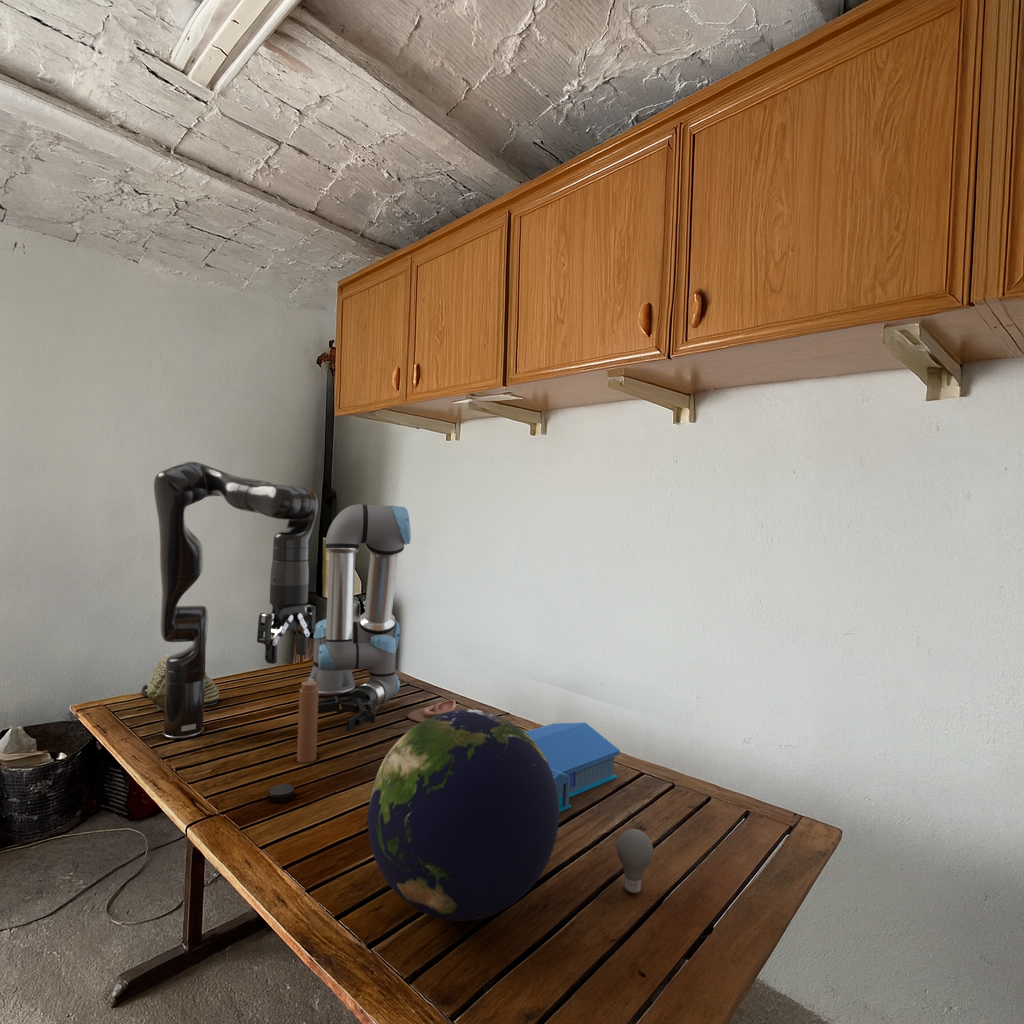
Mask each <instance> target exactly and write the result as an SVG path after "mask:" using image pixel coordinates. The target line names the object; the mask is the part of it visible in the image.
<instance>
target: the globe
mask: <svg viewBox="0 0 1024 1024" xmlns="http://www.w3.org/2000/svg"><path fill="white" fill-rule="evenodd" d="M525 732H526V731H524V730H523V729H521V727H519V726H517V725H516V724H514V723H513V722H511V721H510V720H508V719H506V718H504V717H501V716H499V715H497V714H495V713H492V712H487V711H483V710H479V709H457V710H453V711H450V712H445V713H442V714H439V715H436V716H433V717H431V718H429V719H427V720H425V721H423V722H418V724H417V725H414V726H413V727H412V728H411V729H409V730H408V731H407V732H405V734H403V735H402V736H401V737H400V738H399V739H398V740H397V741H396V742H395V743H394V745H392V747H391V748H390V750H389V751H388V753H387V754H386V755H385V757H384V758H383V760H382V762H381V764H380V766H379V768H378V770H377V772H376V775H375V778H374V780H373V783H372V787H371V791H370V793H369V800H368V801H369V802H368V809H367V829H368V831H367V832H368V838H369V843H370V847H371V852H372V855H373V857H374V860H375V863H376V865H377V867H378V869H379V871H380V873H381V874H382V876H383V878H384V880H385V881H386V883H387V885H389V886H390V888H391V889H392V890H393V891H394V892H395V894H397V896H399V897H400V898H401V900H403V902H405V903H406V904H408V905H409V906H410V907H412V908H414V909H415V910H417V911H419V912H421V913H423V914H425V915H428V916H430V917H432V918H436V919H440V920H443V921H448V922H449V921H450V922H471V921H477V920H482V919H486V918H488V917H491V916H494V915H496V914H499V913H501V912H502V911H505V910H506V909H508V908H510V907H511V906H512V905H514V904H515V903H517V902H518V901H519V900H520V899H521V898H522V897H524V896H525V895H526V894H527V893H528V892H529V891H530V890H531V889H532V888H533V886H534V885H535V884H536V883H537V881H538V880H539V879H540V877H541V876H542V874H543V872H544V870H545V869H546V867H547V865H548V863H549V860H550V858H551V856H552V853H553V851H554V847H555V845H556V840H557V835H558V832H559V823H560V812H559V801H558V793H557V788H556V784H555V780H554V777H553V774H552V771H551V769H550V766H549V764H548V761H547V760H546V758H545V756H544V754H543V753H542V751H541V750H540V748H539V747H538V746H537V744H536V743H535V742H534V741H533V740H532V739H531V738H530V737H529V736H528V735H527V734H526V733H525Z"/></svg>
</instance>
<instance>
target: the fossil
mask: <svg viewBox="0 0 1024 1024" xmlns="http://www.w3.org/2000/svg"><path fill="white" fill-rule="evenodd" d="M171 655H172V654H165V655H164V656H163V657H162V658H161V659H160V660H159V662H158V663H157V666H156V667H155V669H154V670H153V672H152V675H151V677H150V680H149V684H148V688H147V695H148V697H147V698H148V699H149V700H150V701H152V703H153V704H154V706H155V711H158V712H159V711H162V712H163V711H164V705H165V674H166V660H167V658H168V657H169V656H171ZM220 698H221V696H220V690H219V688H218V686H217V685H216V683H215V682H214V681H213V679H212V678H211V677H209V675H208V674H207V672H206V671H205V693H204V707H207V706H213V705H215V704H217V703H218V701H219V699H220Z"/></svg>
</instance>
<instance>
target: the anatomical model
mask: <svg viewBox="0 0 1024 1024" xmlns="http://www.w3.org/2000/svg"><path fill="white" fill-rule="evenodd" d="M456 705H457V704H456V700H454V699H449V700H445V701H440V702H438V703H434V704H432V705H428V706H426V707H423V708H419V709H416V710H414V711H411V712H410V713H408V714H407V715H406V717H407V719H409V720H411V721H415V722H417V723H421V722H423V721H425V720H427V719H429V718H431V717H433V716H436V715H439V714H442V713H445V712H450V711H455V708H456Z"/></svg>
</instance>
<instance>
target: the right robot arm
mask: <svg viewBox="0 0 1024 1024" xmlns="http://www.w3.org/2000/svg"><path fill="white" fill-rule="evenodd" d="M411 533H412V530H411V520H410V515H409V511H408V509H407V508H406V507H405V506H401V505H399V506H398V505H394V504H392V505H381V504H380V505H379V504H377V505H376V504H361V503H359V504H352V505H349V506H347V507H345V508H344V509H343V510H341V511H340V512H339V513H338V514H337V515H336V516H335V517H334V519H333V521H332V522H331V524H330V525H329V527H328V530H327V534H326V537H325V548H324V549H325V551H326V552H327V553H328V563H327V564H328V568H327V573H328V574H327V595H326V596H327V597H326V598H327V601H326V618H324V619H322V620H320V621H318V622H316V630H315V632H314V633H313V639H314V640H313V658H312V669H311V672H310V674H309V677H307V681H316V682H317V683H318V684H317V685H318V686H317V688H319V697H320V698H324V699H319V701H318V715H322V714H327V713H334V712H336V713H339V714H340V713H341V714H342V713H353V714H354V715H353V716H352V717H349V718H348V719H347V720H346V725H345V726H346V727H345V728H346V729H345V730H346V732H348V733H350V732H351V731H353V730H354V729H356V728H357V727H359V726H361V725H363V724H367V723H368V722H370V724H375V723H376V715H377V713H379V706H380V705H382V704H383V703H385V702H388V701H389V700H391V699H392V698H393V697H395V695H397V693H398V692H399V691H400V687H401V681H400V680H399V676H397V674H396V654H397V648H398V645H399V642H400V641H399V640H400V637H399V636H400V624H399V621H397V620H396V617H395V616H394V615H393V605H394V596H395V587H396V577H397V571H398V561H399V555H400V554H401V553H403V551H404V550H405V545H410V544H411V539H412V535H411ZM360 544H365V548H366V549H367V550H368V551H369V562H368V563H369V564H368V576H367V585H366V586H367V587H366V597H365V608H364V612H363V613H362V614H361V615H360V616H359V621H354V605H355V602H354V601H355V597H354V596H355V570H356V567H355V566H356V553H358V551H359V550H360ZM352 670H368V681H366V682H364V683H363V684H360V685H359V686H357V687H356V682H355V679H354V678H355V677H354V675H353V672H352ZM343 696H346V697H344V698H343ZM339 697H341V698H339ZM369 712H370V713H369Z"/></svg>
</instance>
